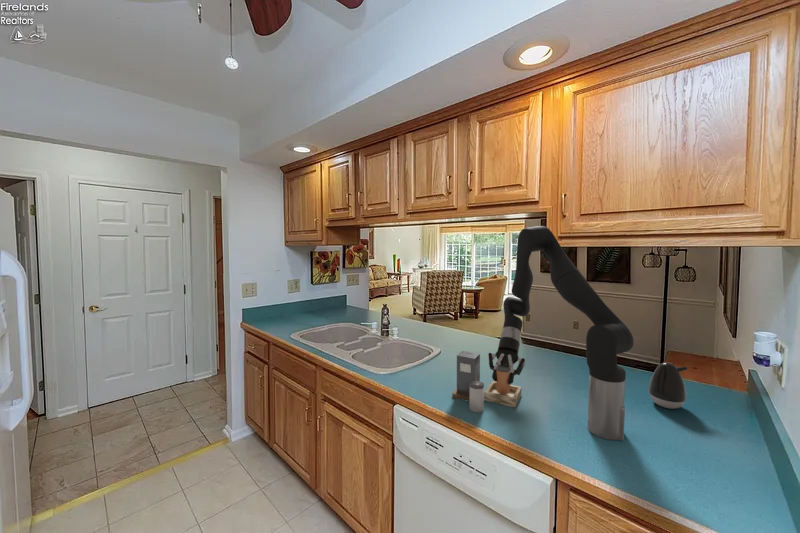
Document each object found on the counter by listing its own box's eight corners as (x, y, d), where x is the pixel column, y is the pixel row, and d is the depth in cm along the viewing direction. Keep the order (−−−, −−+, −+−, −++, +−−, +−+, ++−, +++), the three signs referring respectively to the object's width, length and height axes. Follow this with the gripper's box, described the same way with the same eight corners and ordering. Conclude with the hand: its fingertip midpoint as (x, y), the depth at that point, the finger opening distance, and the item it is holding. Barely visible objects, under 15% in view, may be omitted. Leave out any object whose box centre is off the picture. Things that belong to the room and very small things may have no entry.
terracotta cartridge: (511, 389, 123) (511, 366, 122) (508, 395, 119) (508, 371, 118) (498, 387, 126) (498, 364, 125) (494, 392, 121) (495, 368, 121)
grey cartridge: (485, 408, 115) (486, 382, 114) (480, 413, 111) (480, 388, 110) (472, 404, 118) (472, 379, 117) (467, 409, 114) (467, 384, 113)
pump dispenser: (692, 414, 109) (694, 370, 108) (654, 409, 112) (656, 366, 111) (678, 400, 118) (680, 359, 117) (643, 396, 122) (645, 356, 121)
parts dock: (521, 394, 124) (521, 386, 124) (515, 407, 115) (515, 399, 115) (492, 388, 130) (492, 380, 130) (484, 400, 120) (484, 392, 120)
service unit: (483, 391, 127) (484, 352, 126) (475, 402, 118) (476, 360, 117) (461, 386, 132) (461, 348, 130) (452, 397, 123) (452, 356, 122)
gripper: (489, 333, 131) (480, 374, 121) (528, 338, 124) (521, 382, 114) (493, 343, 136) (484, 382, 126) (530, 348, 128) (523, 390, 119)
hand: (502, 382), depth 120 cm, fingers closed on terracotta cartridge, 4 cm apart
